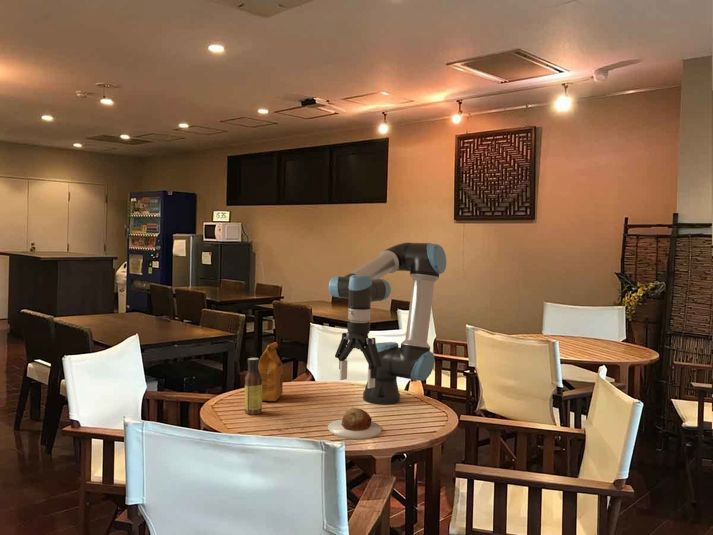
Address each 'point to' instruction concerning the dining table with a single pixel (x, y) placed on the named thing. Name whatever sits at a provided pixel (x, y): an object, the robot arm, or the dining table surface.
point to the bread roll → (356, 420)
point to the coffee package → (271, 374)
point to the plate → (341, 432)
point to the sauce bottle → (253, 388)
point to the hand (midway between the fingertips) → (356, 383)
